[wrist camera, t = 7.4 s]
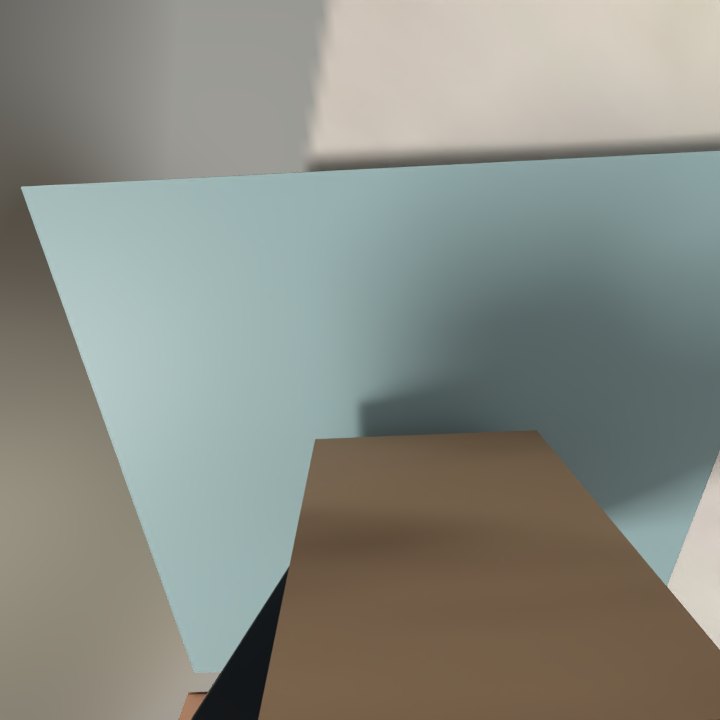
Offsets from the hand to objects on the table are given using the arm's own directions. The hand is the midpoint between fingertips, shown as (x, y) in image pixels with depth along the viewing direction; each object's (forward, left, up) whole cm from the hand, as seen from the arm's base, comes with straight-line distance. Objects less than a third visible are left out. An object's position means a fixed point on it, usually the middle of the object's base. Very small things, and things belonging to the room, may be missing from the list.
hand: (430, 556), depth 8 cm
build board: (0, 0, -3) cm, 3 cm away
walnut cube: (0, 0, -1) cm, 1 cm away
